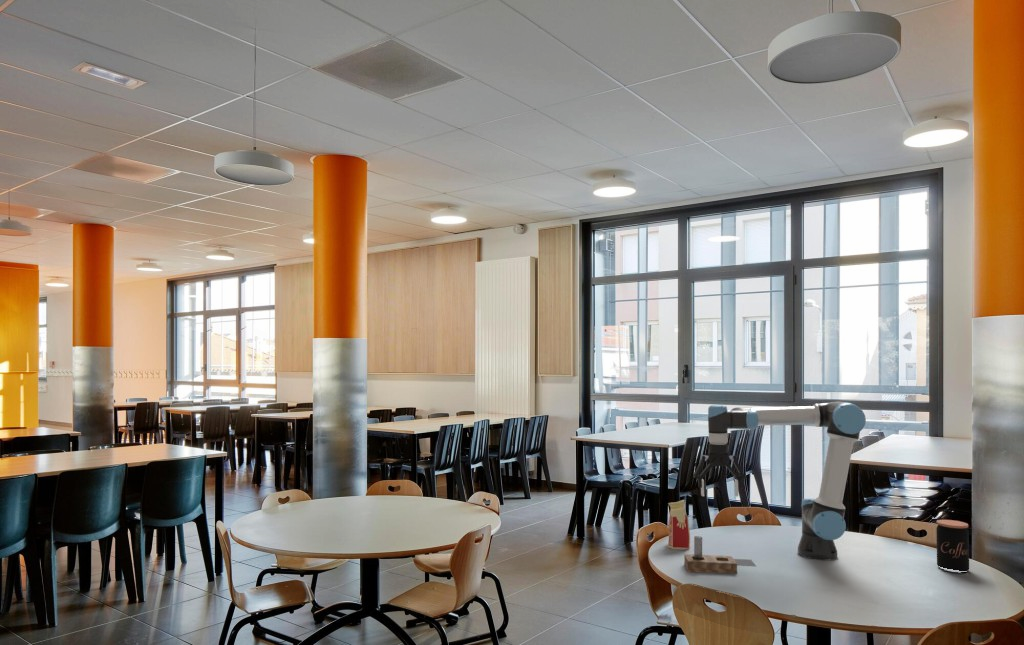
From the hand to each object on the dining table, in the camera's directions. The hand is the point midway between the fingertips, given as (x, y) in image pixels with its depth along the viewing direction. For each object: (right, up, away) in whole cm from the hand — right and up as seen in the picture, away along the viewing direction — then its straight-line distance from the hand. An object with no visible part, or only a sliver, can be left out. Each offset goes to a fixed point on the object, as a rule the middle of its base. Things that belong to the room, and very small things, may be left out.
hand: (719, 495), depth 282 cm
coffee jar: (+87, -26, -12) cm, 92 cm away
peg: (-13, -24, -16) cm, 32 cm away
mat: (+6, -25, -9) cm, 27 cm away
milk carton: (-13, -26, +15) cm, 32 cm away
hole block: (-9, -24, -17) cm, 30 cm away
